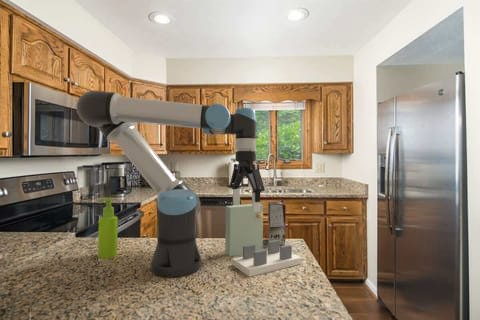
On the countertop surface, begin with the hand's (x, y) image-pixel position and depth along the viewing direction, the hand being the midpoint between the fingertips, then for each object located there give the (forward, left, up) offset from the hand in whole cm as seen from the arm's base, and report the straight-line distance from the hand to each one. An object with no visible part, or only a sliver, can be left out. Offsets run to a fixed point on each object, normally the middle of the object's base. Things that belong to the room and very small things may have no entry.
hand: (245, 208), depth 97 cm
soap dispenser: (-44, +19, -16) cm, 51 cm away
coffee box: (+18, +4, -16) cm, 24 cm away
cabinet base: (0, -14, -16) cm, 21 cm away
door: (0, 0, -16) cm, 16 cm away
